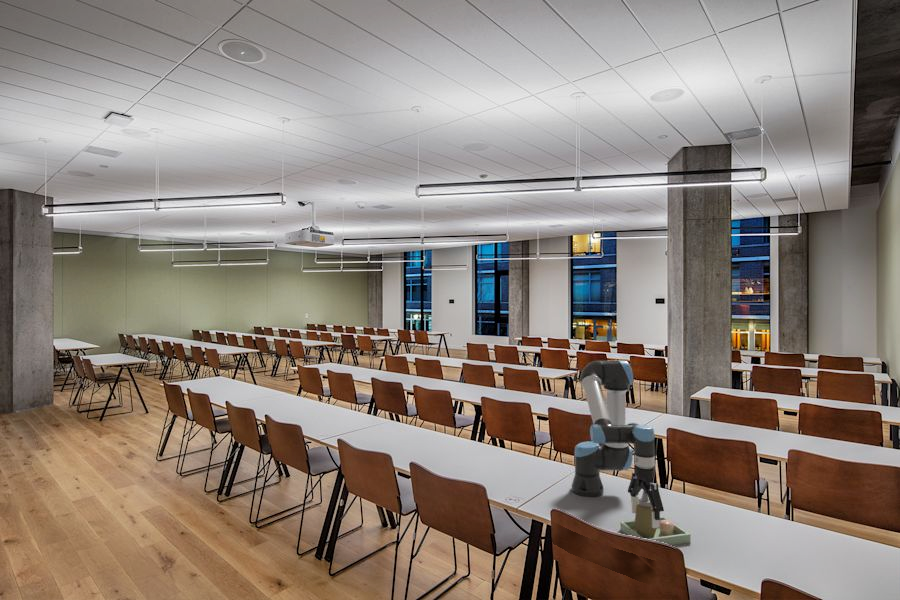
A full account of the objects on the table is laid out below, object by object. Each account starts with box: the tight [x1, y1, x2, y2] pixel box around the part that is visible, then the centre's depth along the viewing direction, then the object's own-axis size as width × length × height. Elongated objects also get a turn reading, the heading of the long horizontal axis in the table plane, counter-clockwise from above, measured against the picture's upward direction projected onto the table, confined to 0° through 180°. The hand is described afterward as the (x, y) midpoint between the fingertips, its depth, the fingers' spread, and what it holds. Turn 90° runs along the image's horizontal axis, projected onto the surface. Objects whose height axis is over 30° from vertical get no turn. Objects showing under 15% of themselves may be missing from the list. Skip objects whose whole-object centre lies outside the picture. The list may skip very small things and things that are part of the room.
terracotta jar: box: [660, 519, 675, 536], centre depth 196 cm, size 5×5×4 cm
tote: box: [619, 516, 691, 546], centre depth 195 cm, size 16×20×4 cm
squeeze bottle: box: [634, 490, 656, 539], centre depth 194 cm, size 8×8×18 cm
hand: (645, 519), depth 194 cm, fingers open, 13 cm apart
